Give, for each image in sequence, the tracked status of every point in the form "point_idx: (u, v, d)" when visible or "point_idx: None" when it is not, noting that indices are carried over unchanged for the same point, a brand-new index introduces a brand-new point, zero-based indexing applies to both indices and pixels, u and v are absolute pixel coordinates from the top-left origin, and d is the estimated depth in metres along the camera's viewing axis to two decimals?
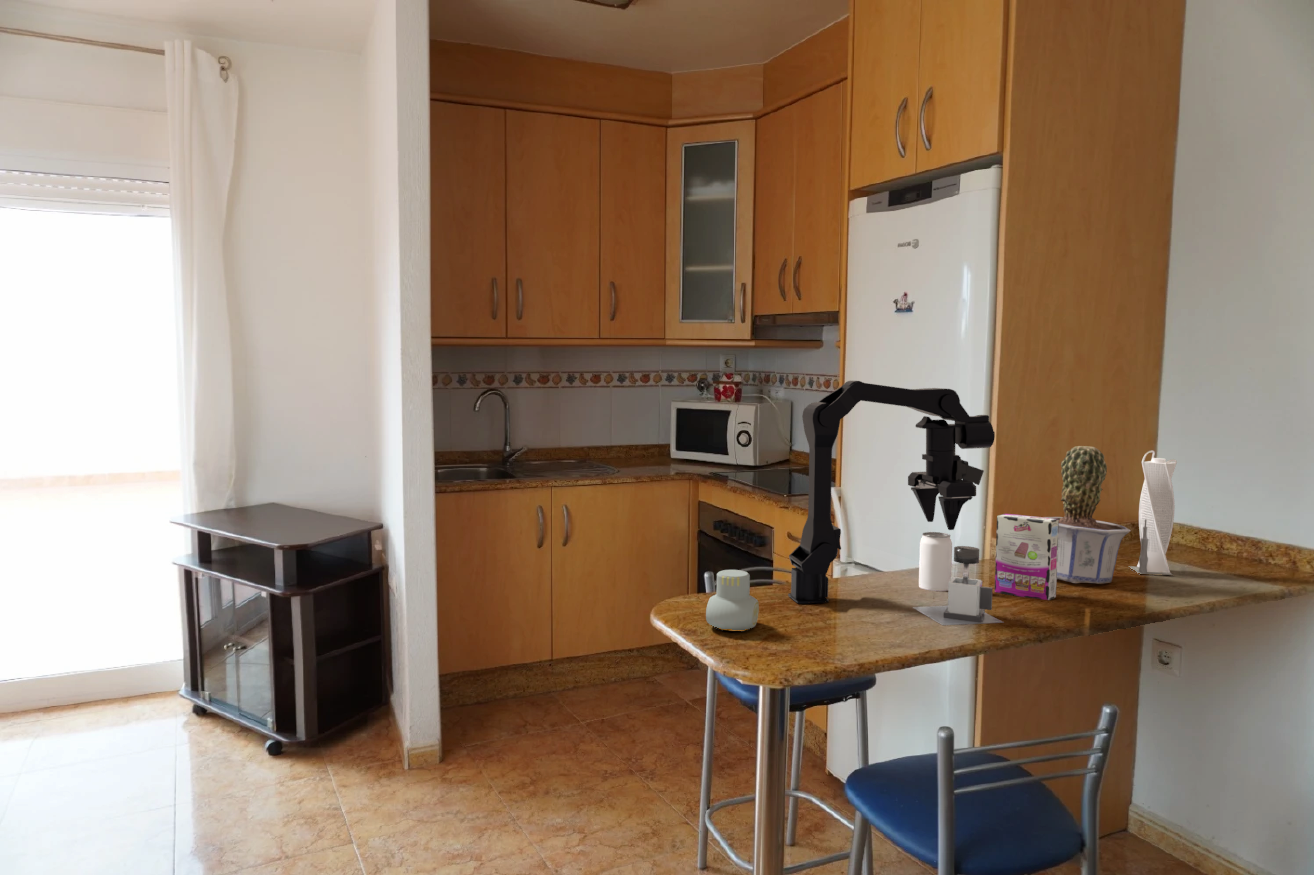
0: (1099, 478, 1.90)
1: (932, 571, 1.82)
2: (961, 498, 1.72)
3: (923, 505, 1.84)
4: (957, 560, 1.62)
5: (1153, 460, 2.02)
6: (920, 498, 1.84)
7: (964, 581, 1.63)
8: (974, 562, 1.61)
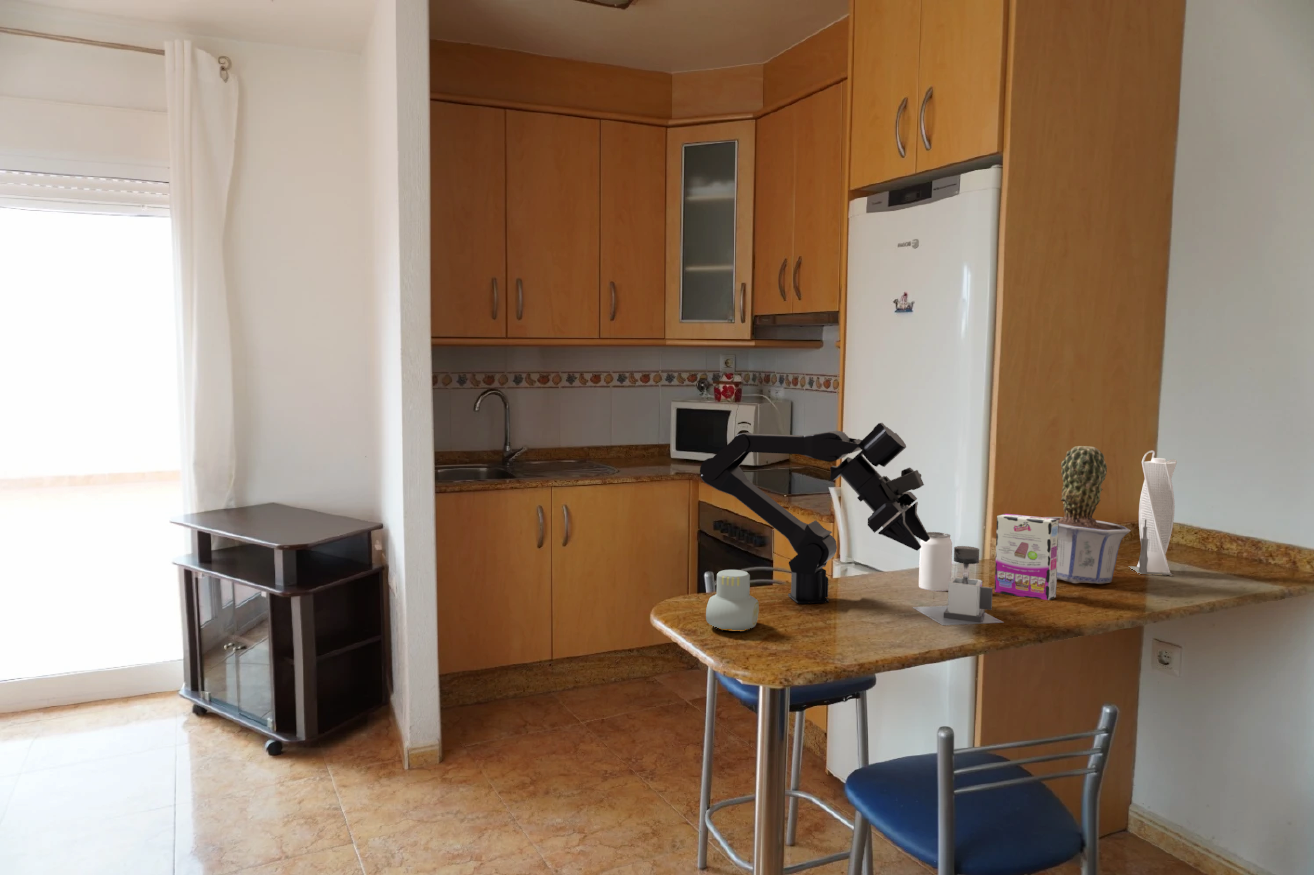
0: (1099, 478, 1.90)
1: (932, 571, 1.82)
2: (891, 522, 1.61)
3: None
4: (957, 560, 1.62)
5: (1153, 460, 2.02)
6: None
7: (964, 581, 1.63)
8: (974, 562, 1.61)
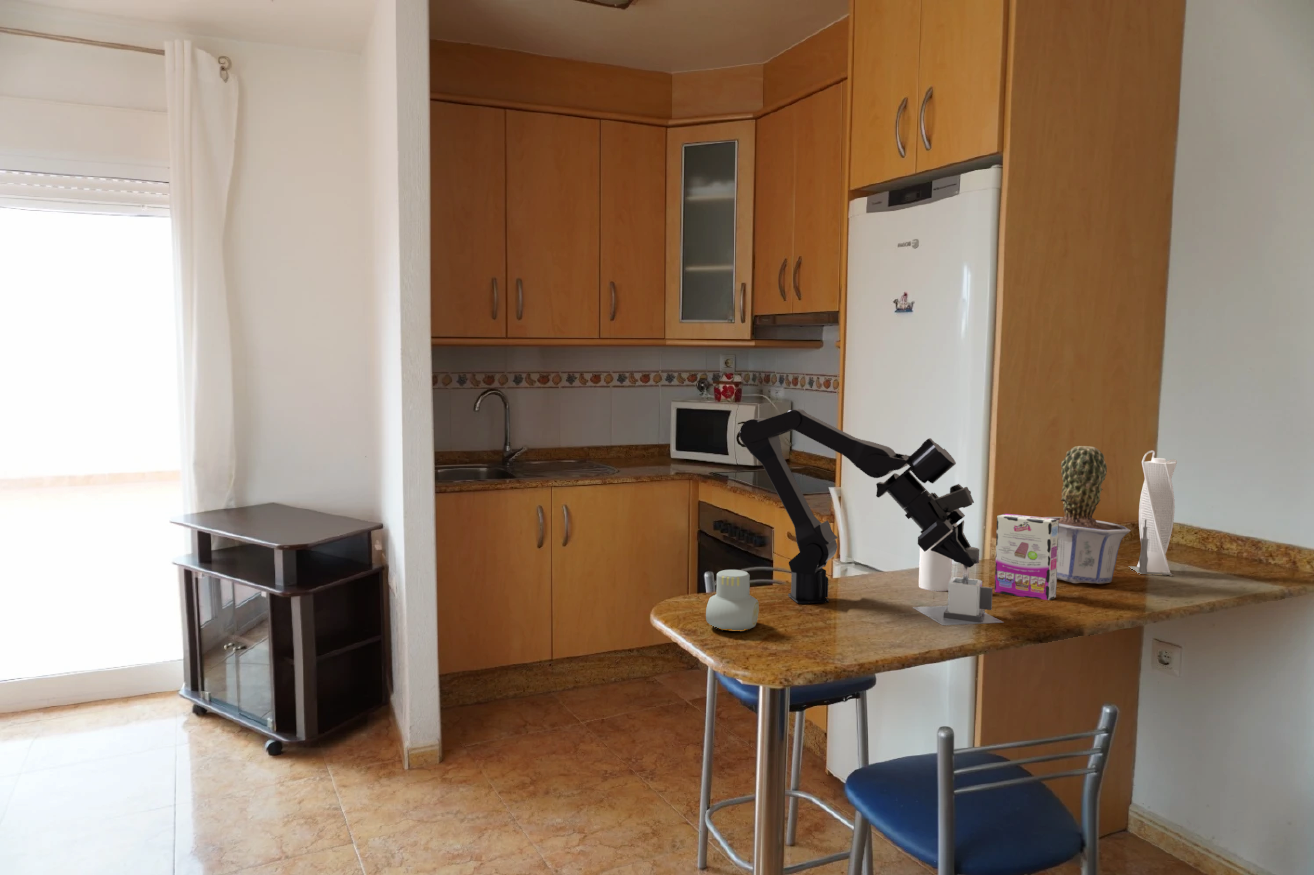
0: (1099, 478, 1.90)
1: (932, 571, 1.82)
2: (944, 538, 1.59)
3: None
4: None
5: (1153, 460, 2.02)
6: None
7: (964, 581, 1.63)
8: (974, 562, 1.61)
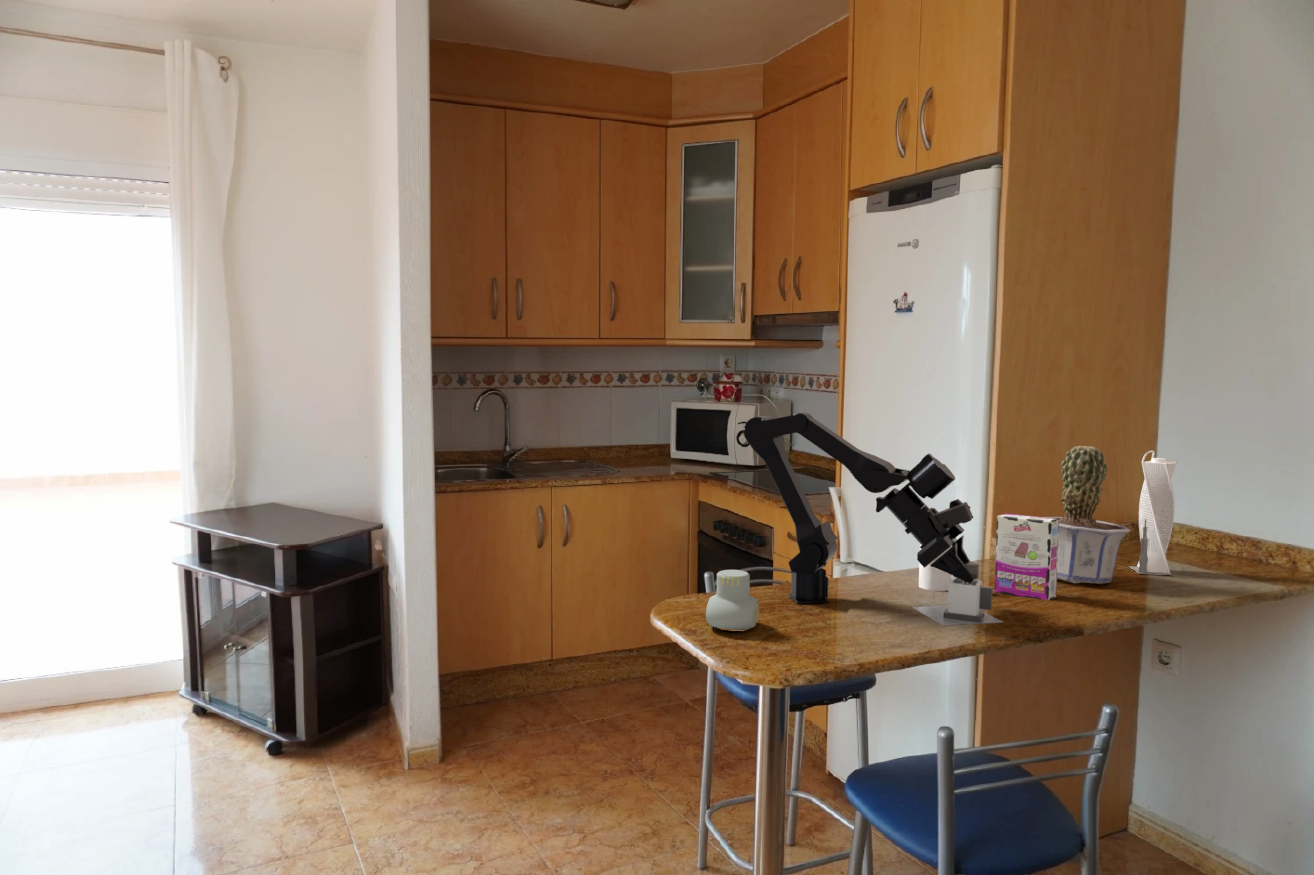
0: (1099, 478, 1.90)
1: (932, 571, 1.82)
2: (944, 554, 1.59)
3: None
4: None
5: (1153, 460, 2.02)
6: None
7: None
8: (973, 578, 1.61)
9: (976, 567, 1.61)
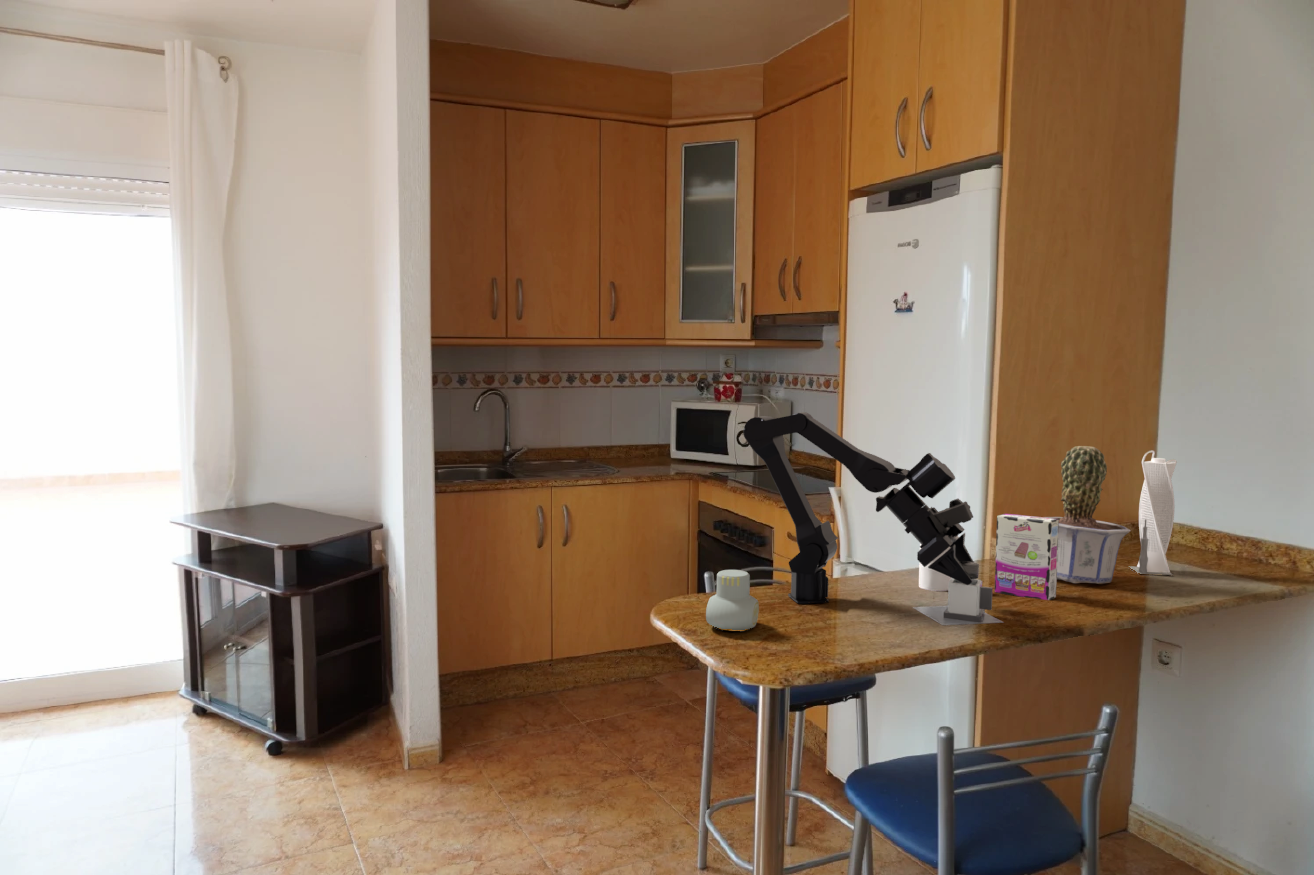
0: (1099, 478, 1.90)
1: (932, 571, 1.82)
2: (942, 556, 1.57)
3: None
4: None
5: (1153, 460, 2.02)
6: None
7: None
8: (973, 577, 1.61)
9: (976, 567, 1.61)
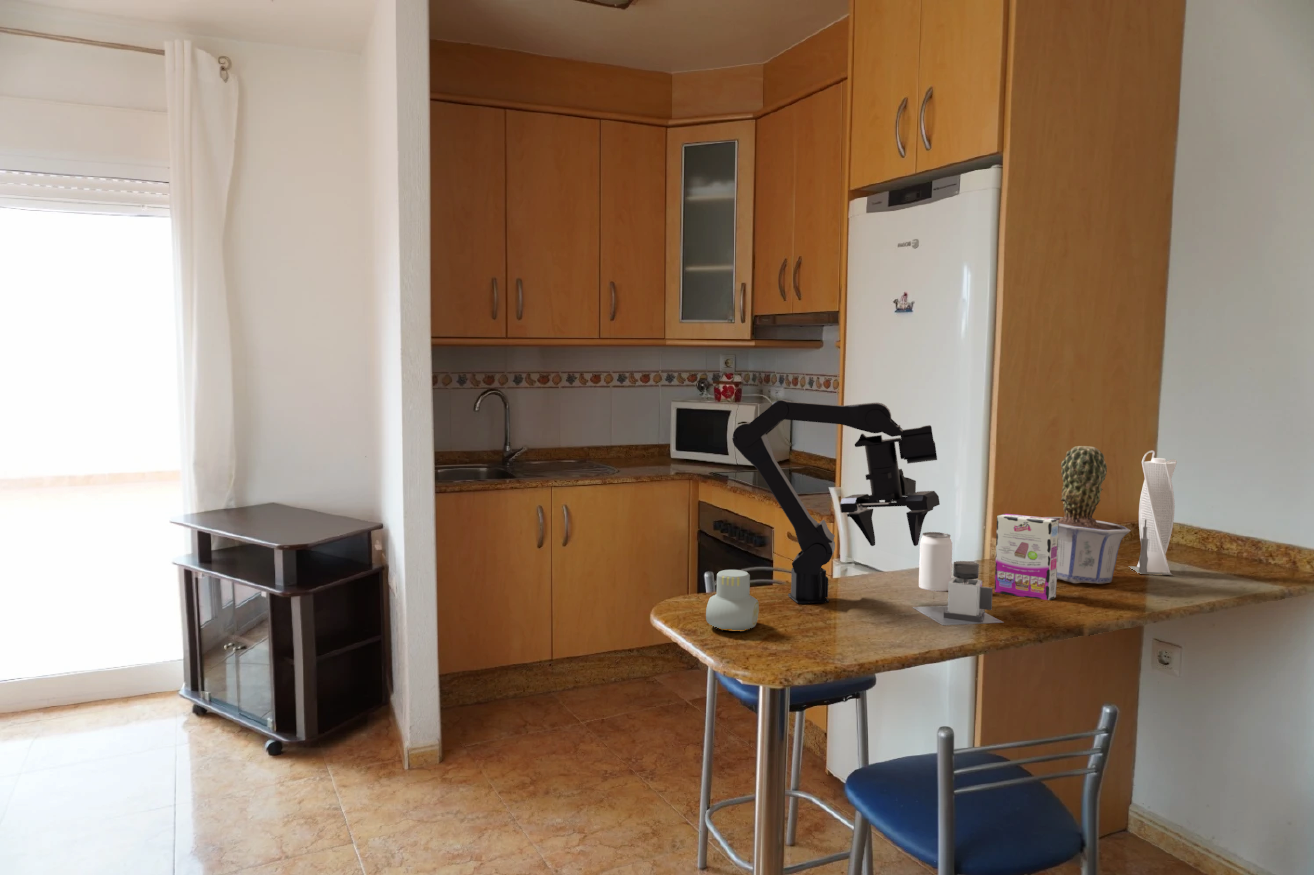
0: (1099, 478, 1.90)
1: (932, 571, 1.82)
2: (928, 509, 1.67)
3: (866, 529, 1.74)
4: (956, 575, 1.62)
5: (1153, 460, 2.02)
6: (863, 522, 1.74)
7: None
8: (973, 577, 1.61)
9: (976, 567, 1.61)
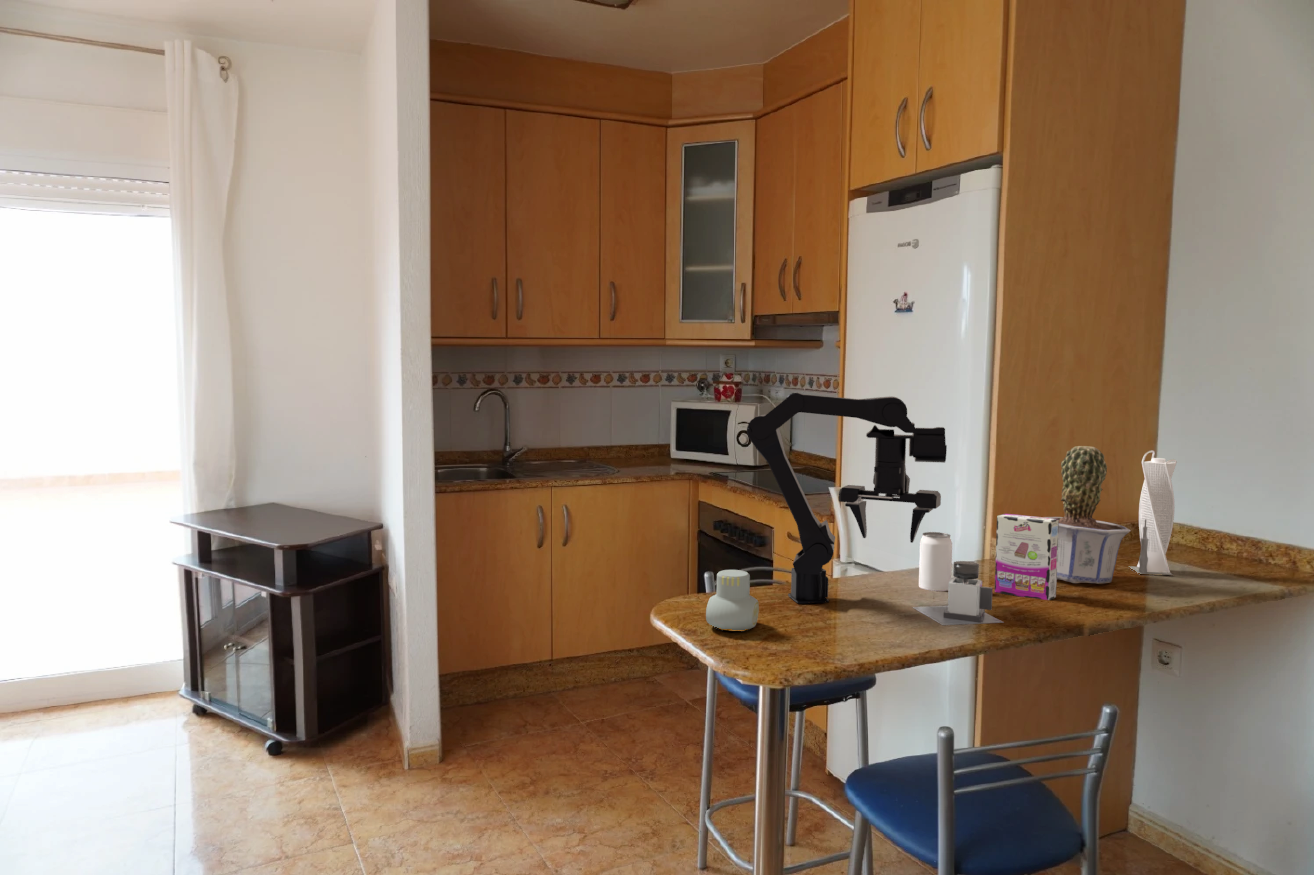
0: (1099, 478, 1.90)
1: (932, 571, 1.82)
2: (931, 508, 1.69)
3: (862, 521, 1.73)
4: (956, 575, 1.62)
5: (1153, 460, 2.02)
6: (861, 514, 1.73)
7: None
8: (973, 577, 1.61)
9: (976, 567, 1.61)
